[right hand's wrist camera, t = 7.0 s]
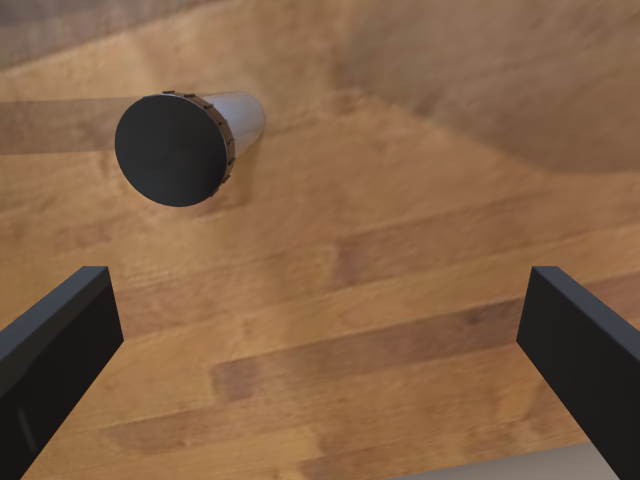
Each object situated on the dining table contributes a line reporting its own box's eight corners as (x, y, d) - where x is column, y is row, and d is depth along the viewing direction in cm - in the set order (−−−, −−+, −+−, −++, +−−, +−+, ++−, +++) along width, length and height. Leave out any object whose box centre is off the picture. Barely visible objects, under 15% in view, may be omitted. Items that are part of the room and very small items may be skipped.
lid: (234, 203, 20) (226, 215, 18) (133, 191, 20) (116, 201, 18) (239, 99, 18) (231, 101, 16) (128, 84, 18) (109, 84, 16)
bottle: (263, 148, 32) (219, 201, 19) (213, 141, 32) (130, 190, 18) (267, 95, 31) (222, 110, 17) (214, 88, 31) (125, 97, 17)
